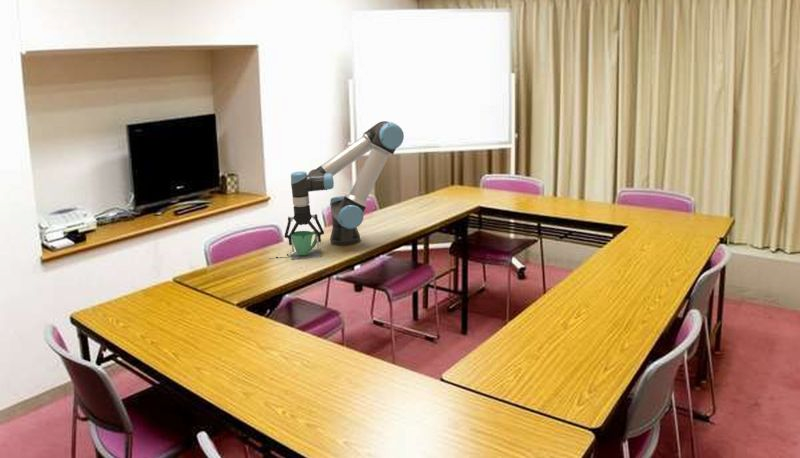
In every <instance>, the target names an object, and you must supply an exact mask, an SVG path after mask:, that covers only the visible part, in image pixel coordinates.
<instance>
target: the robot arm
mask: <svg viewBox="0 0 800 458" xmlns="http://www.w3.org/2000/svg"><path fill="white" fill-rule="evenodd" d="M404 139H405V137H404V131H403V129H402V127H400V125H398V124H396V123H394V122H392V121H391V122H390V121H388V120H387V121H385V120H383V121H379V122H378V123H375V124H374V125H373V126H372V127H370V128H369V129H368V130H366V131H364V132H363V133H362V136H361V137H360V138H357V140H356V141H354V142H353V143H351V144H350V145H348V146H347V147H346V148H344V149H343V150H341V151H340V152H338V153H337V154H336V155H335V154H334V156H332V157H331V158H330V159H328V160H327V161H325V162H323V164H321V165H319V166H318V167H316V168H315V169H311V170H310V171H309V172H308V173H307V172H306V171H304V170H302V171H294V172H291V174H290V184H291V187H290V188H291V194H292V195H291V196H292V205H293V216H288V217H287V224H286V225H287V226H286V229H285V233H284V236H283V237H284V239H288V244H289V246H291V251H292V252H294V251H295V247H294V244H293V240H292V236H291V234H292V235H293V234H294V232H296V230H297V229H298V226H304V225H305V226H306V225H309V227H310V228H311V229H312V230H313V231H315V233H316V234H317V235H316V238H317V243H316V249H318V250H319V249H320V243H321V241H322V238H321V236H322V235H325V231H324V229H323V227H322V225H321V223H320V221H319V219H318V214H316V213H315V214H311V206H310V195H309V192H319V191H328V190H332V189H334V184H335V183H334V176H335V175H336V174H338V173H339V172H341V171H343V170H344V169H346V168H347V167H348V166H350V165H351V164H352V163H354V162H355V161H357V160H359V159H360V158H362V157H363V156H364V155H366V154H367V153H368V152H369V153H368V156H367V158H366V160H365V162H364V164H363V166H362V167H361V170H360V172H359V174H358V175H357V178H356V179H355V182H354V184H353V186H352V188H351V189H350V192H349V193H348V194H345V195H342V196H334V197H331V198H330V201H329V202H330V204H329V206H330V211H331V223H332V229H331V233H330V237H329V243H330V244H331V245H334V246H350V245H355V244H357V243H360V241H361V234H360V232H359V230H358V227H359V226H360V225H362V223H363V221H364V213H365V211H366V209H367V207H368V206H367V200H368V198H369V196H370V194H371V192H372V189H374V186H375V184H376V182H377V181H378V178H379V176H380V174H381V172H382V171H383V168H384V166H385V165H386V162H387V160H388V159H389V157H392V156H394V153H395V151H396V149H398V148H399V147H400V146H401V145H402V144H403V142H404ZM311 219H313V220H315V224H316V225H317V227H318V229H319V230H318V229H317V228H316V226H315V225H314V224H313V222H312V221H311ZM293 221H295V224H294V226H293V227H292V229H291V231H290V227H291V223H292V222H293ZM289 232H290V233H289Z"/></svg>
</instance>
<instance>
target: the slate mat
mask: <svg viewBox="0 0 800 458" xmlns="http://www.w3.org/2000/svg"><path fill="white" fill-rule="evenodd" d="M290 255H291V261H293V260H304V259H305V260H306V259H314V258H322V257H323V255H322V251H321V248H319V250H318V249H317V248H312V249H311V250H310V251H309V252H308V254H307V255H298V254H297V252H294V253H293V254H290Z"/></svg>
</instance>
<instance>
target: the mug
mask: <svg viewBox="0 0 800 458" xmlns="http://www.w3.org/2000/svg"><path fill="white" fill-rule="evenodd" d="M314 235H315V236H314ZM316 235H317V234H316V233H315V231H314V230H313V231H309V230H298V231H296V230H295V232H294V234H293V235H292V234H291V236H292V237H291V238H292V240H293V246H294V251H296V252H297V254H298V255H307V254H308V252H309V251H310V250H311V249H315V246H317V238H316ZM313 236H314V239H313ZM312 239H313V241H312Z"/></svg>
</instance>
